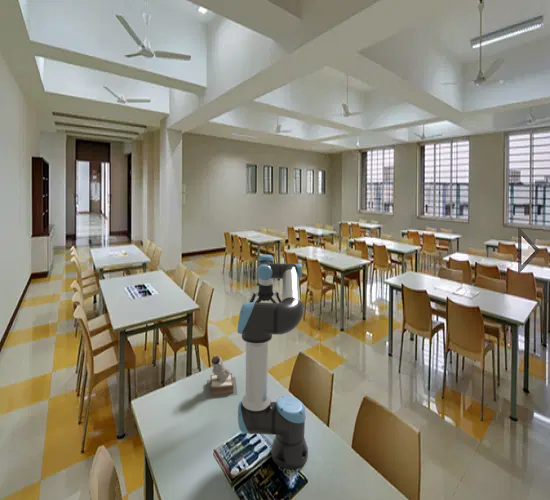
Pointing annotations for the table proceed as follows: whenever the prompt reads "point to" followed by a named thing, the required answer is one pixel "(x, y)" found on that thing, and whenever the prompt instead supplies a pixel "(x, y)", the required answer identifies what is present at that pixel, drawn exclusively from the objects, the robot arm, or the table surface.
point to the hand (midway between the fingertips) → (265, 321)
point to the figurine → (219, 368)
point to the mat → (222, 394)
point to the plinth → (221, 385)
